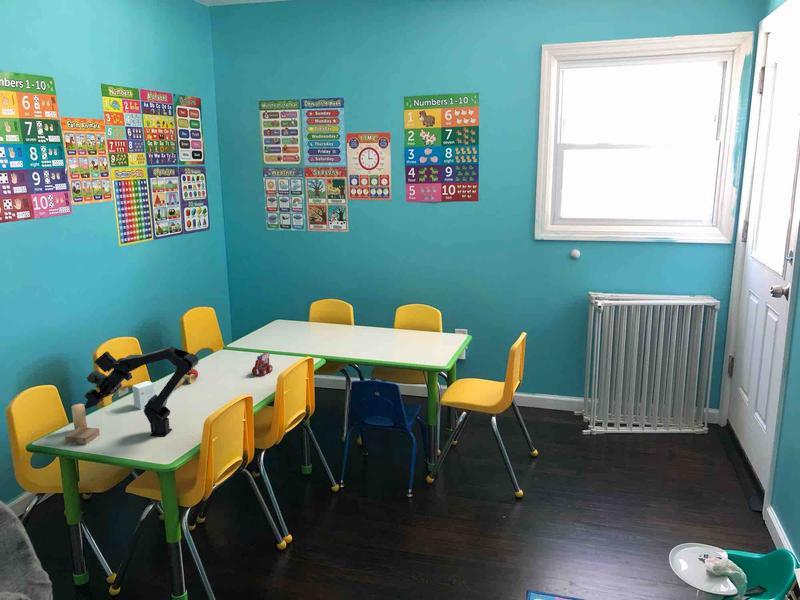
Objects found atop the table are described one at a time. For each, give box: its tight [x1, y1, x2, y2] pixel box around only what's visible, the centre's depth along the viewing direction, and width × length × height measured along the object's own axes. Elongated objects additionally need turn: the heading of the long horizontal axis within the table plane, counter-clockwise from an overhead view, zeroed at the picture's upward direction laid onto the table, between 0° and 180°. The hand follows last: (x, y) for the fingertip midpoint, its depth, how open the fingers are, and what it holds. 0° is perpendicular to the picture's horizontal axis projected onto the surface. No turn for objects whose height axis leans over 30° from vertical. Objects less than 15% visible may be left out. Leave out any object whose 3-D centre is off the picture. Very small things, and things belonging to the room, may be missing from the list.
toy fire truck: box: [251, 351, 273, 377], centre depth 331 cm, size 7×12×10 cm, turn 157°
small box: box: [132, 380, 156, 410], centre depth 291 cm, size 8×6×10 cm
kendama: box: [174, 368, 199, 391], centre depth 318 cm, size 8×6×18 cm
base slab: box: [64, 427, 101, 445], centre depth 258 cm, size 9×9×3 cm
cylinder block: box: [71, 403, 88, 430], centre depth 266 cm, size 5×5×11 cm
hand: (92, 403), depth 263 cm, fingers open, 9 cm apart
